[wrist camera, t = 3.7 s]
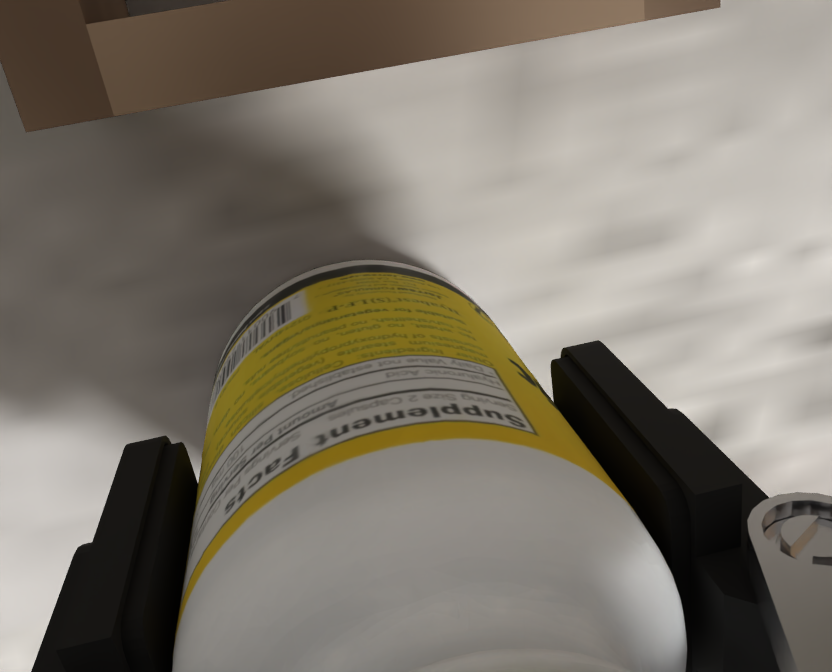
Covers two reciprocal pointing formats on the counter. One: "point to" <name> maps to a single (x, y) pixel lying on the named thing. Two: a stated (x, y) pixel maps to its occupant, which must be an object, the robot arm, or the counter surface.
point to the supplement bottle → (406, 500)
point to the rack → (258, 45)
